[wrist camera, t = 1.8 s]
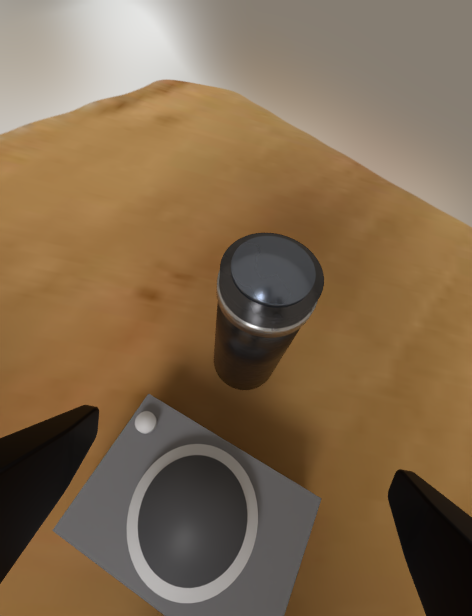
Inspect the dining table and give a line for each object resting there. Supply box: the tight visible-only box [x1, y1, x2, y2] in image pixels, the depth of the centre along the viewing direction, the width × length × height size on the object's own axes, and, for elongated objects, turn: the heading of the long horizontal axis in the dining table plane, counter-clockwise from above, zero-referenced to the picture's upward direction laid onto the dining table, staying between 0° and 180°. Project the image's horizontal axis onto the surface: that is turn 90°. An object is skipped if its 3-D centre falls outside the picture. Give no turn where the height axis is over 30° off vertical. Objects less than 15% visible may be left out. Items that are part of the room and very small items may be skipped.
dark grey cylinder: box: [214, 233, 324, 390], centre depth 19 cm, size 5×5×12 cm
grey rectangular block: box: [52, 394, 321, 616], centre depth 17 cm, size 12×8×4 cm, turn 62°
